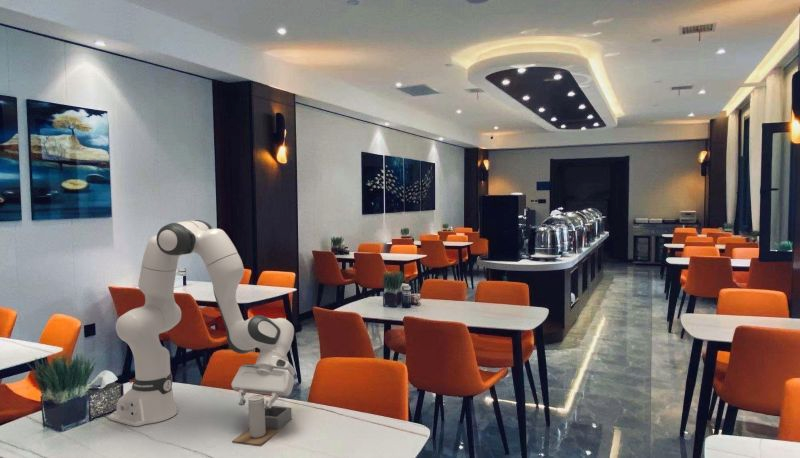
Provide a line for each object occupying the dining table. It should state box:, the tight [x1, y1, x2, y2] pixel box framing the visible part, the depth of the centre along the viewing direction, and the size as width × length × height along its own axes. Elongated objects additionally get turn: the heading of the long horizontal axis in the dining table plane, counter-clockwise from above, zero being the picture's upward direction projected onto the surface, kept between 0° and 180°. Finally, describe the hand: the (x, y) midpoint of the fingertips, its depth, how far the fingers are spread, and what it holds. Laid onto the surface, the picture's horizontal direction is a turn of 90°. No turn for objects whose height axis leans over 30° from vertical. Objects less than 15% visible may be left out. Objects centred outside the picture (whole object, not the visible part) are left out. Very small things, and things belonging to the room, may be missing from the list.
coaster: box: [231, 427, 279, 447], centre depth 167 cm, size 10×10×1 cm
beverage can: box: [247, 394, 266, 438], centre depth 166 cm, size 5×5×12 cm
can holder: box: [265, 405, 293, 431], centre depth 176 cm, size 9×9×4 cm
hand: (254, 406), depth 166 cm, fingers open, 8 cm apart
